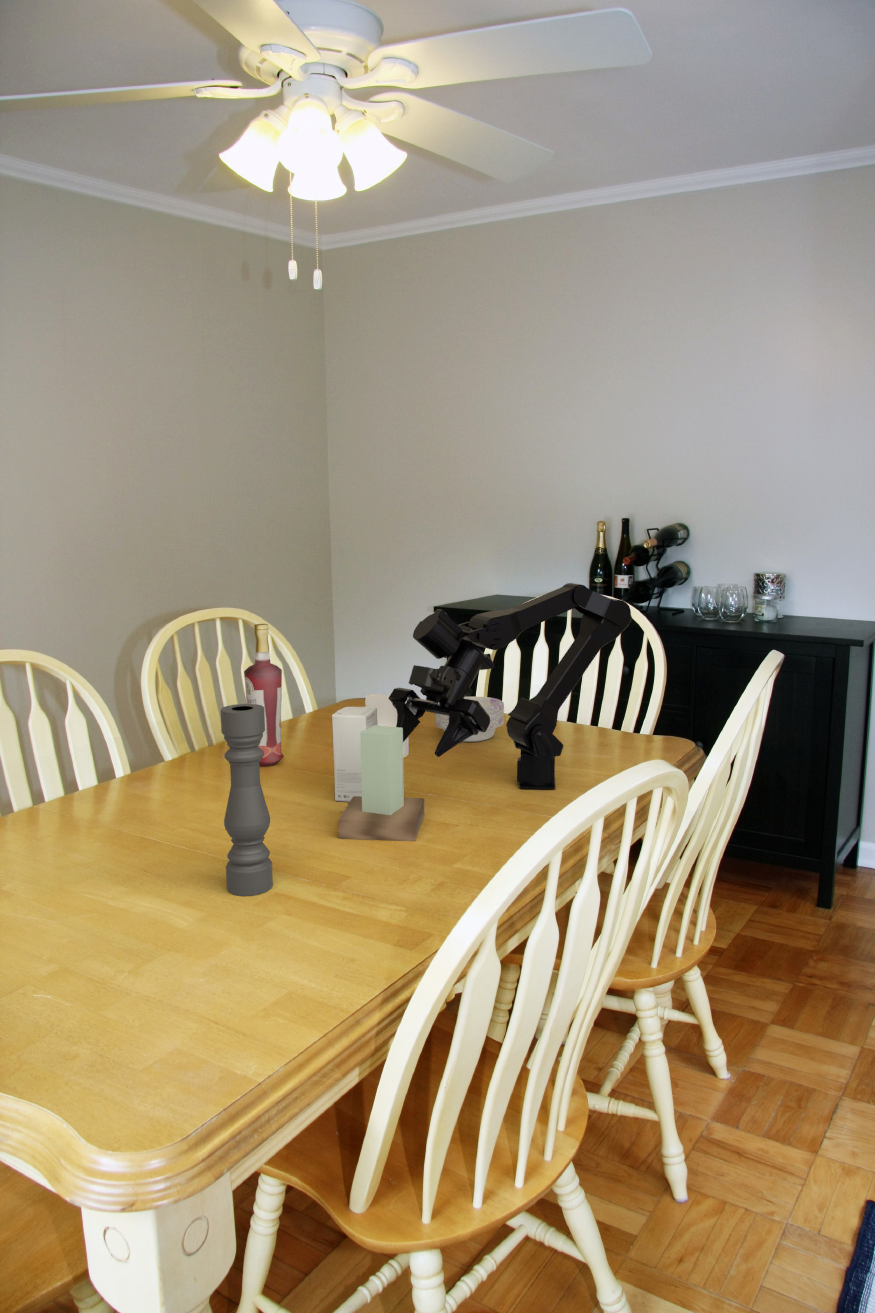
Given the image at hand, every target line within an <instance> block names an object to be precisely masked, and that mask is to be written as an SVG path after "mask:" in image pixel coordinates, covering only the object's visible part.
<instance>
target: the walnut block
mask: <svg viewBox="0 0 875 1313" xmlns="http://www.w3.org/2000/svg"><path fill="white" fill-rule="evenodd" d="M424 818H425V797H404V806H403V807H401V808H400V809H399V810H397V811H396V812H394V813H393V814H391V815H385V814H378V813H370V812H363V811H362V796H353V797H352V799H351V801H350V802H348V804H347V806H346V807H345V809H344V810H343V812H342V814H341V815H340V817H339V818H338V821H337V822H338V823H337V824H338V840H369V841H371V840H372V841H374V840H375V841H400V842H401V841H402V842H403V841H404V842H405V841H406V842H408V841H409V842H415V841H417V840H416V839H417V837H418V835H419V832H420V829H421V827H422V823H423V821H424Z"/></svg>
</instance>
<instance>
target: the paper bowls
mask: <svg viewBox="0 0 875 1313" xmlns="http://www.w3.org/2000/svg"><path fill="white" fill-rule="evenodd" d="M464 699H470V700H476V701H478V702H479V703H480V704H481V706H482V707H483V708H484V709H485V711H486V712H487V713H488V715H489V716H490V724H489V726H488V728H487V730H486V732H479V731H478V732H479V733H478V734H477V735H472V736H470V737H469V738H467V739H465V740H464V741H462V742H461V743H463V742H464V743H467V742H468V743H472V742H475V743H476V742H483V741H486V740H489V739H491V738H492V737H493V736H494V734H495V733H496V729H497V728H500V727H502V726H504V724H505V704H504V701H502V700H501V699H499V698H494V697H488V696H465V697H464ZM434 717H435V718H434V719H435V720H434V721H435V727H437V728H439V729H442V730H443V733H444V732H445V730H446V728H447V726H448V724H449V716H447V715H442V714H437V713H434Z"/></svg>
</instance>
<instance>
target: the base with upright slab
mask: <svg viewBox="0 0 875 1313" xmlns="http://www.w3.org/2000/svg"><path fill="white" fill-rule="evenodd" d="M389 696H390V695H387V694H378V693H371V694H368V695H365V696H364V698H365V701H364V702H365V704H364V705H365V707H377V721H378V725H379V726H389V727H396V725H397V710H396V708H395V707H394V706H393V705H392V702H391V701H390V700H389V699H388V698H389ZM409 736H410V735H409ZM409 736H408V737H407V739H406V740H405V741H404V742H403V758H406V757H407V756H409V754H410V752H409V751H410V750H409V749H410V743H409V742H410V740H409V738H410V737H409Z"/></svg>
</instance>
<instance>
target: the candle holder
mask: <svg viewBox="0 0 875 1313" xmlns="http://www.w3.org/2000/svg"><path fill="white" fill-rule="evenodd" d="M220 726H221V727H220V728H221V729H220V730H221V734H222V735H223V740H224V741H225V742H226V743H227V746H228V747H229V749H227V750H226V751H225V752H224V758H225V760H226V761H227V762H228V764H229V766H230V767H229V768H230V769H229V771H230V772H229V773H230V788H229V792H228V798H227V805H226V808H225V809H226V810H225V814H224V820H223V826H224V828H225V829H224V830H226V833H227V834H228V836H229V837H230V838H231V843H232V844H233V845H232V846H231V848H230V850H229V851H228V853H227V854H226V855H227V856H226V857H227V859H228V861H227V863H226V865H225V873H226V874H225V876H226V879H225V880H226V890H227V892H228V893H229V894H232V895H234V896H239V897H252V896H258V895H261V894H265V893H267V892H269V891H271V889H273V886H274V877H273V876H274V875H273V861H272V860H271V858H270V855H271V852H270V849H268V847H267V846H266V844H265V843H264V841H265V835H266V834H267V832H268V829H269V827H270V824H271V816H270V812H269V808H268V806H267V803H266V799H265V795H264V791H263V787H262V783H261V770H260V769H261V768H260V767H261V766H260V765H259V762H260V761H261V759H262V758H263V756H264V751H263V750H262V749H261V748H259V744H260V741H261V739H262V737H263V732H264V731H265V715H264V707H263V706H262V705H258V704H247V703H238V704H230V705H226V706H223V707H221V709H220Z"/></svg>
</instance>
